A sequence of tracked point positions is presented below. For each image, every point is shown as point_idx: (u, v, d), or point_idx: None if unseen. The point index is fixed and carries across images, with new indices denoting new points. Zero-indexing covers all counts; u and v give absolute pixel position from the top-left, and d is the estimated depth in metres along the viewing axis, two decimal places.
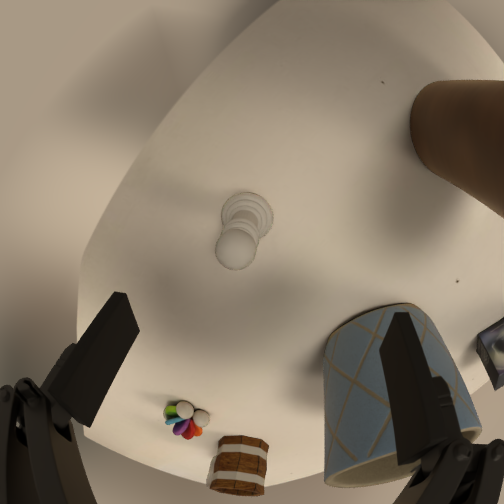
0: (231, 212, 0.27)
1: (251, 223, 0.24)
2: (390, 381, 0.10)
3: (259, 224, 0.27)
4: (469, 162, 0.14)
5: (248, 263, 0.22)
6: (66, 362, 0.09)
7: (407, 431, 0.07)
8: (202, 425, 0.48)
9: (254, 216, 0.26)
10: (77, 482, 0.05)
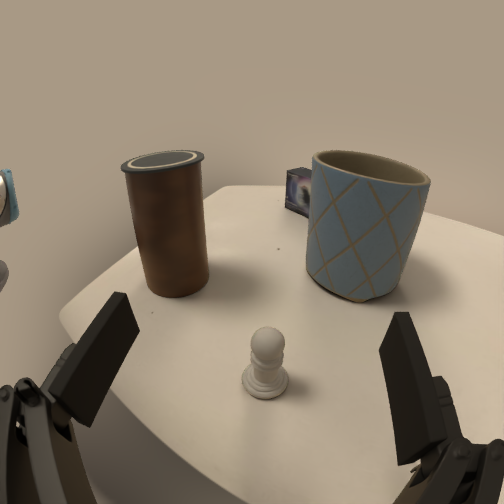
0: (258, 385, 0.28)
1: None
2: (390, 381, 0.10)
3: None
4: (179, 238, 0.37)
5: (272, 327, 0.26)
6: (66, 362, 0.09)
7: (407, 431, 0.07)
8: None
9: None
10: (77, 482, 0.05)
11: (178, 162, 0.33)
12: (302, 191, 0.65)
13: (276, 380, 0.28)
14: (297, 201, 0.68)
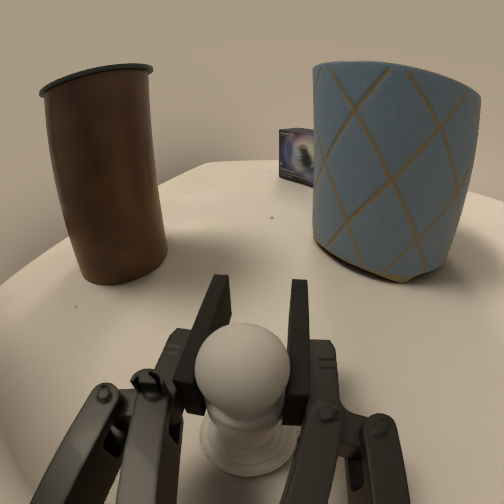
0: (232, 452, 0.11)
1: None
2: None
3: None
4: (107, 182, 0.21)
5: (254, 325, 0.10)
6: (187, 346, 0.10)
7: None
8: None
9: None
10: (169, 490, 0.06)
11: None
12: (300, 151, 0.49)
13: (272, 442, 0.11)
14: (294, 166, 0.52)
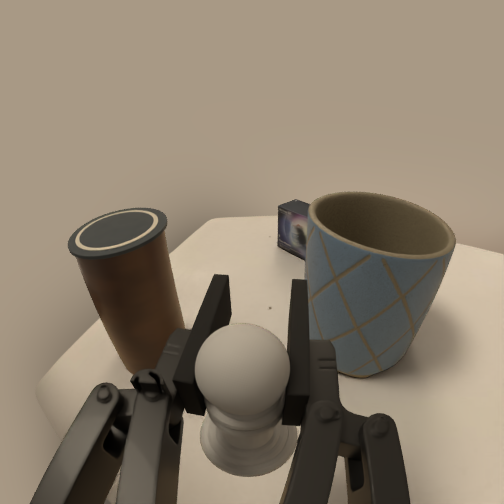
0: (233, 452, 0.11)
1: None
2: (287, 344, 0.13)
3: None
4: (146, 326, 0.29)
5: (254, 325, 0.10)
6: (187, 346, 0.10)
7: None
8: None
9: None
10: (169, 490, 0.06)
11: (131, 239, 0.25)
12: (297, 230, 0.57)
13: (272, 442, 0.11)
14: (291, 241, 0.60)
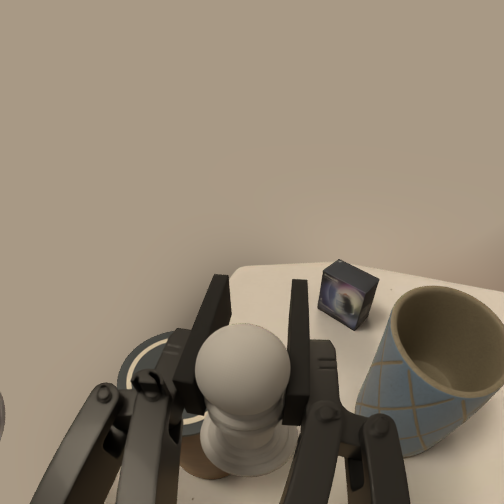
0: (233, 452, 0.11)
1: None
2: None
3: None
4: None
5: (255, 325, 0.10)
6: (187, 346, 0.10)
7: None
8: None
9: None
10: (169, 490, 0.06)
11: None
12: (343, 299, 0.52)
13: (272, 442, 0.11)
14: (334, 307, 0.55)
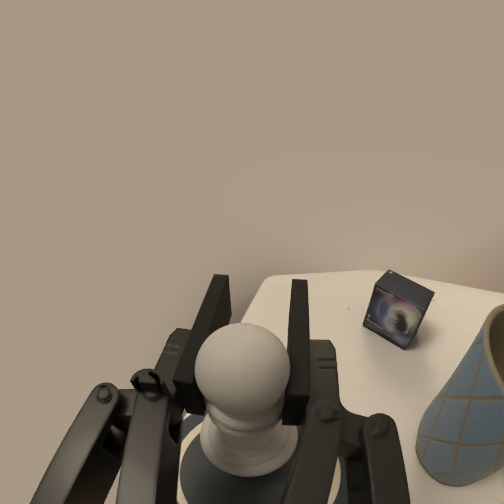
0: (233, 452, 0.11)
1: None
2: None
3: None
4: None
5: (254, 325, 0.10)
6: (187, 346, 0.10)
7: None
8: None
9: None
10: (169, 490, 0.06)
11: None
12: (397, 316, 0.42)
13: (272, 442, 0.11)
14: (384, 325, 0.44)
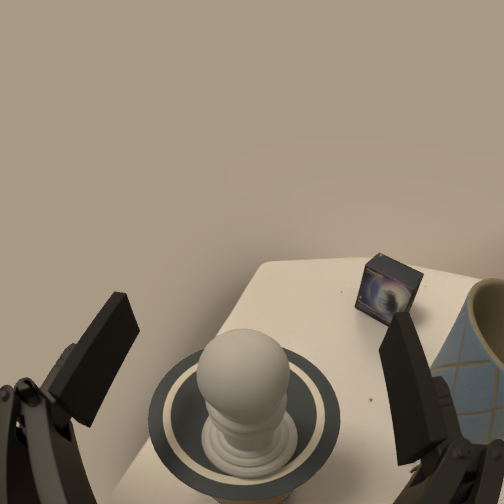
0: (234, 454, 0.11)
1: None
2: (390, 381, 0.10)
3: None
4: (282, 497, 0.16)
5: (255, 331, 0.10)
6: (66, 362, 0.09)
7: (407, 431, 0.07)
8: None
9: None
10: (77, 482, 0.05)
11: (302, 452, 0.12)
12: (387, 296, 0.44)
13: (272, 444, 0.11)
14: (376, 306, 0.47)
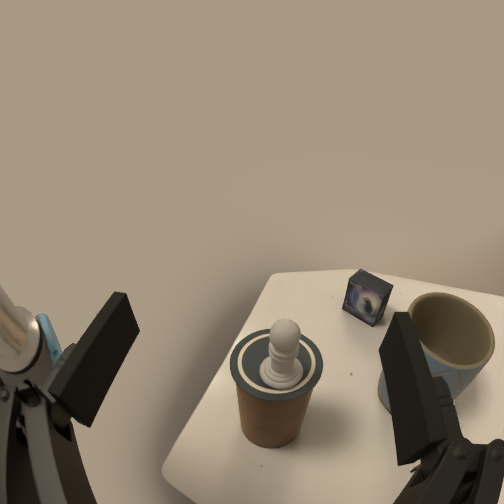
0: (276, 376, 0.30)
1: None
2: (390, 381, 0.10)
3: None
4: (294, 422, 0.35)
5: None
6: (66, 362, 0.09)
7: (407, 431, 0.07)
8: None
9: None
10: (77, 482, 0.05)
11: (305, 378, 0.31)
12: (365, 301, 0.63)
13: (292, 370, 0.30)
14: (357, 308, 0.66)
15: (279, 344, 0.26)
